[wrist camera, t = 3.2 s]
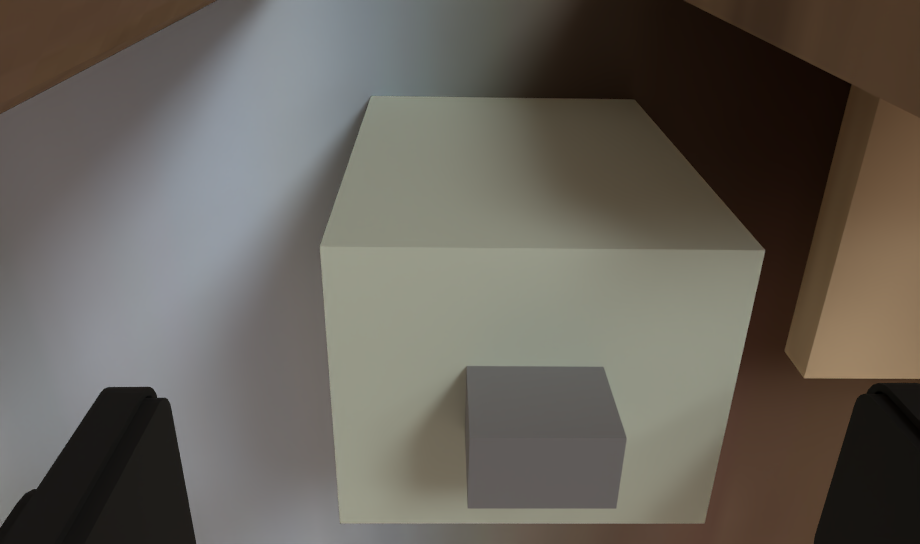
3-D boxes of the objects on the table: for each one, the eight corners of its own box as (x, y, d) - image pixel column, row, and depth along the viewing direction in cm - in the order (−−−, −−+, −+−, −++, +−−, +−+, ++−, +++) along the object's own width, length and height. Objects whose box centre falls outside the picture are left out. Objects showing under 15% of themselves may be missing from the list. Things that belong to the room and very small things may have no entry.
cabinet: (634, 99, 17) (816, 309, 9) (609, 298, 20) (735, 615, 11) (371, 95, 17) (299, 306, 9) (378, 296, 20) (326, 616, 11)
